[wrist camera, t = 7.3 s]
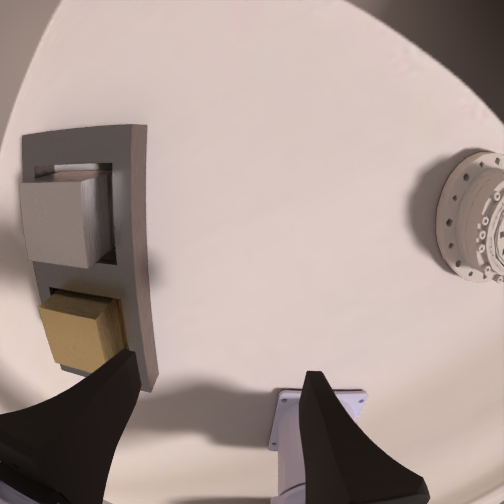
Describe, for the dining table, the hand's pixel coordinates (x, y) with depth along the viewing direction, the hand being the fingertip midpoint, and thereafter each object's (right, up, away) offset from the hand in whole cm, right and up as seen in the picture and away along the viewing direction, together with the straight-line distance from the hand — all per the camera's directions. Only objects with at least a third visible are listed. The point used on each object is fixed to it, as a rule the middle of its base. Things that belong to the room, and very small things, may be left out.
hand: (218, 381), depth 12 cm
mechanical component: (+19, +8, +7) cm, 22 cm away
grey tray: (-10, +4, +10) cm, 15 cm away
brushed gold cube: (-11, +1, +11) cm, 15 cm away
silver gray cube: (-10, +9, +8) cm, 16 cm away
